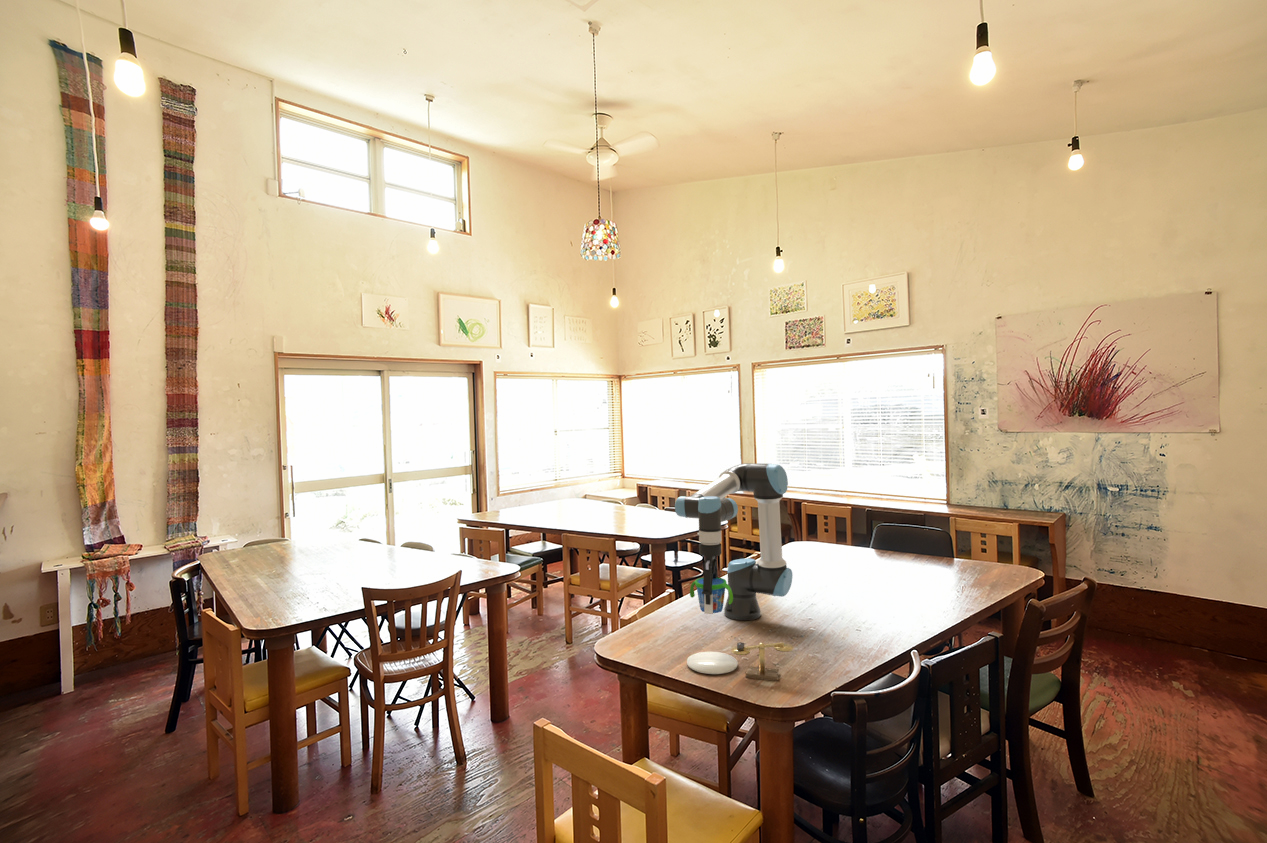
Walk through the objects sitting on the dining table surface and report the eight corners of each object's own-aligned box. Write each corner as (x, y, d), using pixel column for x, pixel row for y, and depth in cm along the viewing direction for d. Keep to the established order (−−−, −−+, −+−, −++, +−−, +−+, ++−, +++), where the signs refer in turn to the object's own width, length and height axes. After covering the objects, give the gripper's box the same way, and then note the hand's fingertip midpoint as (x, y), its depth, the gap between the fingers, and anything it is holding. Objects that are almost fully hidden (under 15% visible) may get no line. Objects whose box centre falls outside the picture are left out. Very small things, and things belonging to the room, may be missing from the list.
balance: (733, 668, 201) (732, 634, 201) (793, 674, 196) (793, 640, 196) (730, 675, 196) (730, 641, 196) (793, 682, 190) (792, 647, 190)
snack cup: (683, 609, 206) (682, 579, 206) (702, 602, 214) (701, 573, 213) (721, 619, 195) (720, 588, 195) (739, 611, 203) (739, 581, 203)
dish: (692, 652, 215) (692, 649, 215) (740, 657, 210) (740, 654, 210) (682, 672, 199) (682, 668, 199) (734, 678, 194) (734, 674, 194)
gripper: (704, 535, 216) (705, 598, 216) (692, 549, 195) (694, 618, 195) (725, 536, 214) (726, 599, 214) (716, 550, 192) (717, 620, 193)
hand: (711, 608), depth 204 cm, fingers closed on snack cup, 9 cm apart
